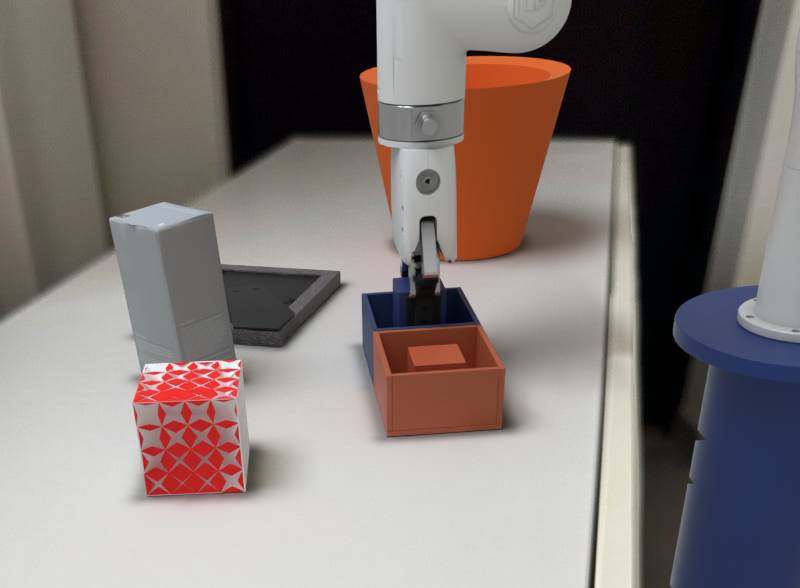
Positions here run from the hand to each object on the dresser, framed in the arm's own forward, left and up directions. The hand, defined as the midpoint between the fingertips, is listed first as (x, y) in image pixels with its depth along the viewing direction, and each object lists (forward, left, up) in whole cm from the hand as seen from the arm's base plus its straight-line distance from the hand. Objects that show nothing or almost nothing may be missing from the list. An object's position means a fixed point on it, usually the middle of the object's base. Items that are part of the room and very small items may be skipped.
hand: (419, 326), depth 102 cm
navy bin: (0, 0, -4) cm, 4 cm away
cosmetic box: (+23, +1, -4) cm, 23 cm away
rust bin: (0, +11, -4) cm, 12 cm away
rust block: (0, +11, -3) cm, 11 cm away
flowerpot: (-11, -40, -4) cm, 42 cm away
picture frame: (+17, -19, -4) cm, 26 cm away
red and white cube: (+21, +21, -4) cm, 30 cm away
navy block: (0, 0, 0) cm, 0 cm away
